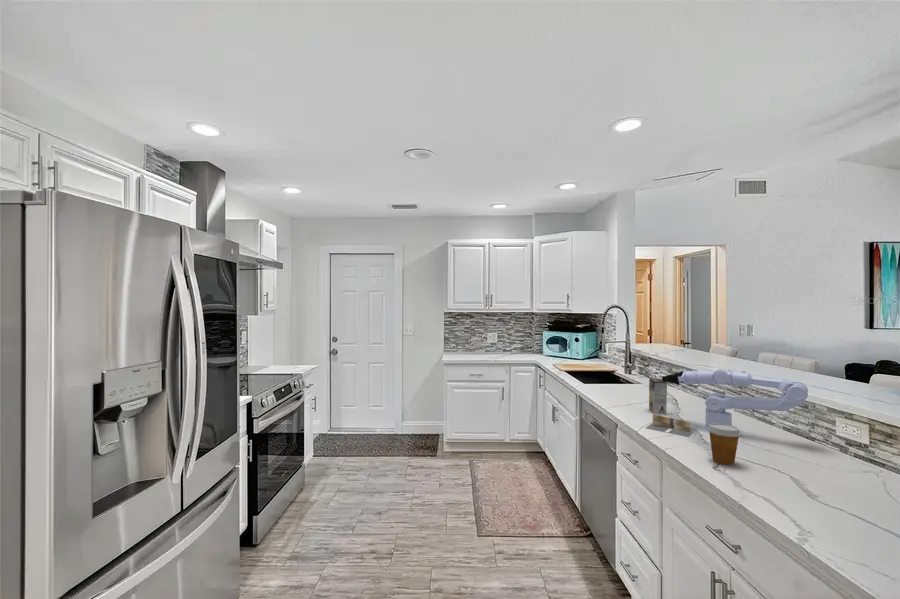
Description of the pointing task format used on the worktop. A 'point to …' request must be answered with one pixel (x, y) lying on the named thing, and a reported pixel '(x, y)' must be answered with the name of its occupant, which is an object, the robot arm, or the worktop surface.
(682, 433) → the card
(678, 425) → the block
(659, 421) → the hinged panel
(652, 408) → the coffee box
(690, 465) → the worktop surface
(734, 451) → the disposable coffee cup
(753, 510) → the worktop surface
